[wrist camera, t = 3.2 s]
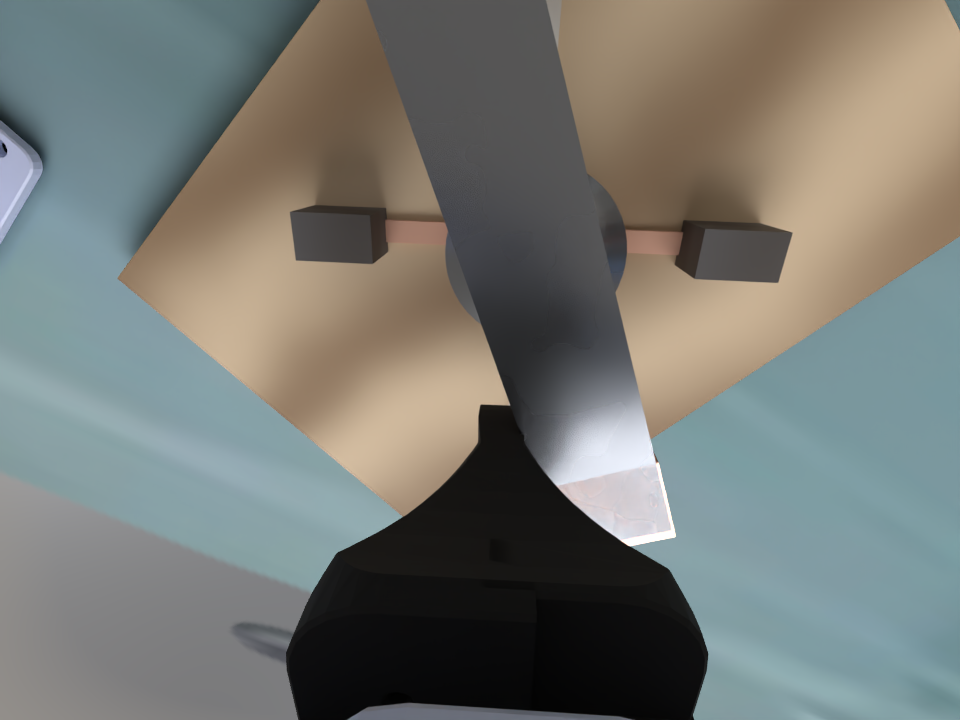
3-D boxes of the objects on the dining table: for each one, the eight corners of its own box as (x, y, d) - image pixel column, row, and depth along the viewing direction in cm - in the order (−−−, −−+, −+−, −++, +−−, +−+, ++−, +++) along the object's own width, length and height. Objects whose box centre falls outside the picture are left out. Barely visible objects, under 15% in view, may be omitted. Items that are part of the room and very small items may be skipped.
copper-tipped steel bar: (357, -1, 10) (275, -80, 6) (544, -87, 9) (563, -228, 6) (527, 467, 14) (530, 565, 11) (662, 435, 14) (712, 529, 10)
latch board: (140, 270, 15) (72, 292, 13) (672, -441, 9) (729, -653, 7) (463, 544, 19) (455, 600, 17) (999, 182, 13) (1110, 189, 10)
